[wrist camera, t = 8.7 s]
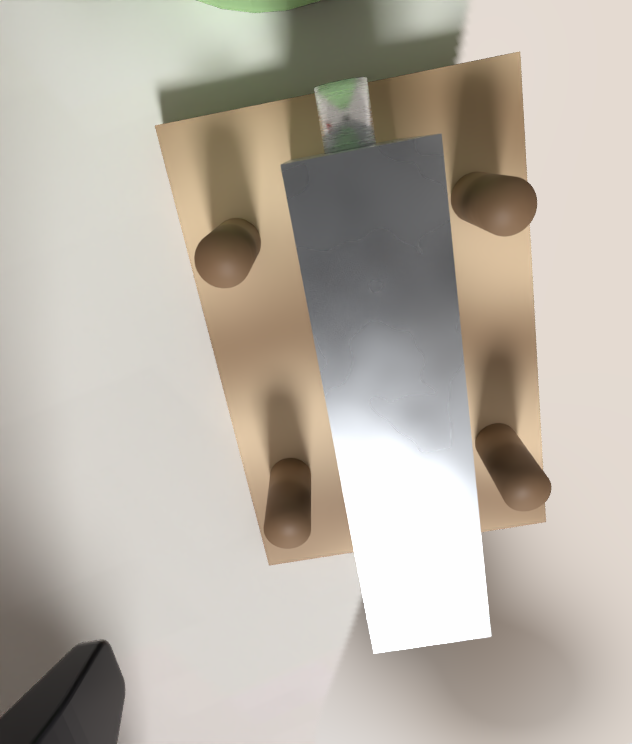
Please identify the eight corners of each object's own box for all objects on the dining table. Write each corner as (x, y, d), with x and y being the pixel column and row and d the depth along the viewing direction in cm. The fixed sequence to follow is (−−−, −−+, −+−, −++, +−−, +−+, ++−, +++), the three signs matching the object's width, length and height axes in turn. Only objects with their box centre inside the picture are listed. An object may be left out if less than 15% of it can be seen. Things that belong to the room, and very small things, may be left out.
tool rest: (535, 506, 22) (582, 579, 18) (270, 547, 22) (262, 628, 19) (508, 57, 17) (566, 29, 13) (163, 126, 17) (122, 120, 13)
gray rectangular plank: (442, 503, 21) (490, 636, 15) (356, 516, 21) (373, 653, 15) (389, 84, 16) (433, 47, 10) (280, 105, 16) (264, 82, 10)
